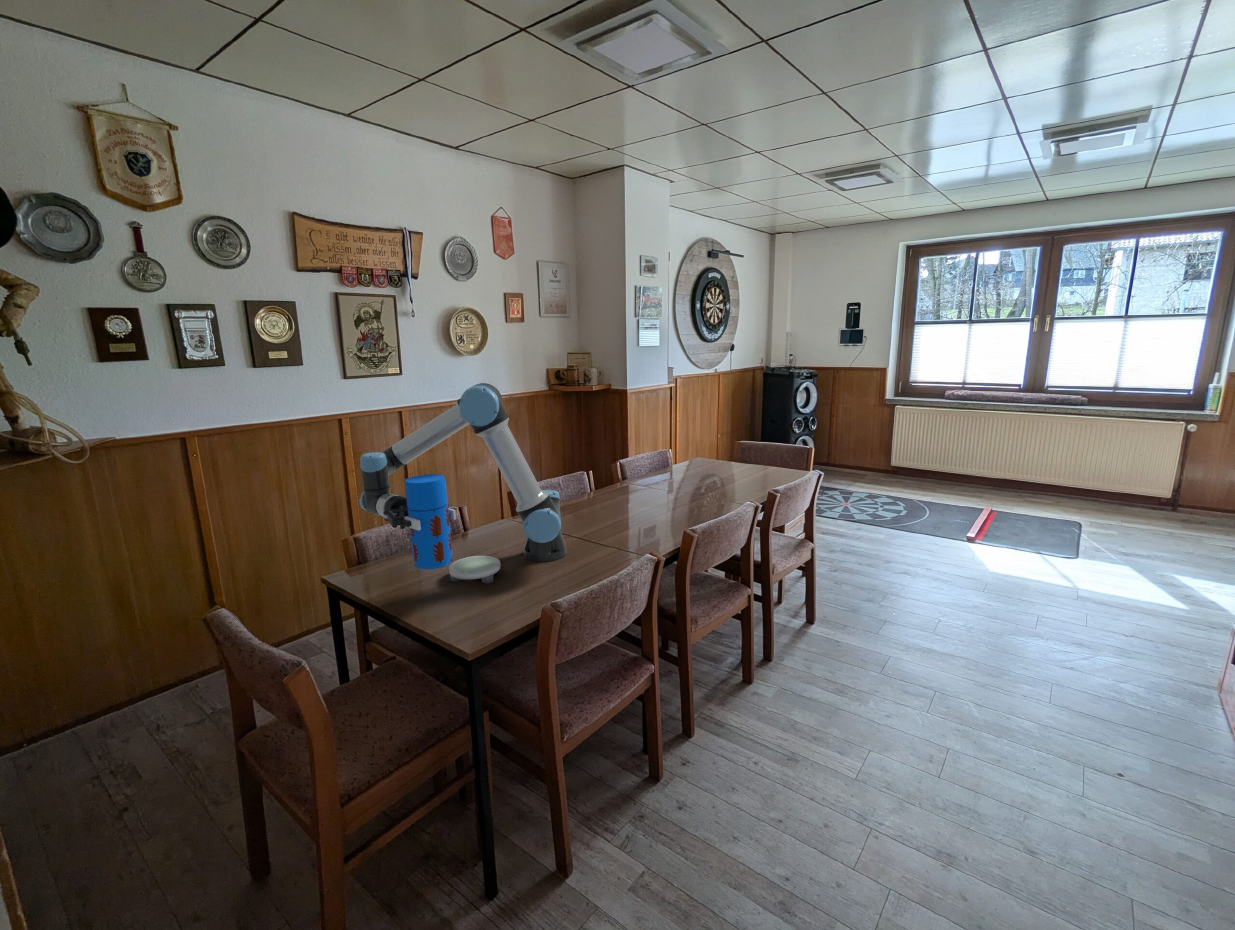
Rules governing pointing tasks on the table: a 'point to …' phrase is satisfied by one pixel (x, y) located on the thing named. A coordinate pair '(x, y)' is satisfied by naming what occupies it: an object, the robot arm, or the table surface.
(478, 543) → the table surface
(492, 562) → the levelling base
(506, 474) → the robot arm
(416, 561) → the thermos
